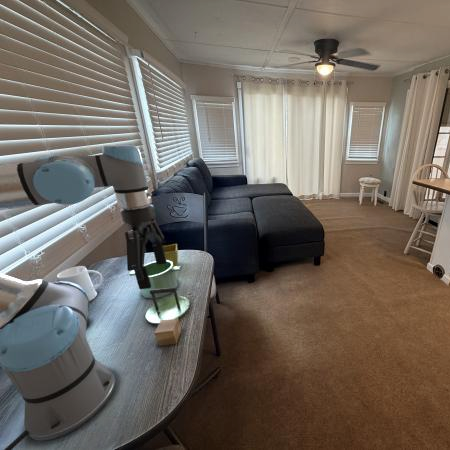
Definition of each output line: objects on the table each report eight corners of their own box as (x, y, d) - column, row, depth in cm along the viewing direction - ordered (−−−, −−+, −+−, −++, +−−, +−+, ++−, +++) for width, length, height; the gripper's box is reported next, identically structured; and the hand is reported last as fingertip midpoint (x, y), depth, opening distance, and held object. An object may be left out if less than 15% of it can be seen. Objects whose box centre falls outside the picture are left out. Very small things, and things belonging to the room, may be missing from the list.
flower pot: (160, 263, 115) (156, 247, 112) (180, 259, 118) (176, 243, 115) (159, 272, 108) (154, 255, 104) (180, 268, 111) (176, 250, 108)
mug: (108, 286, 98) (99, 261, 94) (106, 297, 92) (96, 270, 87) (70, 296, 92) (58, 270, 88) (65, 309, 86) (52, 281, 81)
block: (176, 343, 71) (172, 330, 69) (158, 346, 70) (154, 333, 68) (181, 330, 75) (178, 318, 73) (164, 333, 74) (160, 320, 73)
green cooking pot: (179, 295, 92) (174, 274, 88) (128, 301, 89) (121, 279, 86) (188, 277, 103) (183, 258, 100) (143, 282, 101) (137, 262, 97)
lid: (183, 322, 78) (178, 299, 75) (139, 328, 76) (131, 304, 73) (194, 296, 91) (189, 275, 88) (155, 301, 89) (149, 279, 86)
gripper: (131, 220, 53) (153, 299, 60) (166, 194, 76) (178, 254, 83) (92, 222, 51) (120, 303, 59) (140, 196, 74) (155, 256, 82)
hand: (154, 274), depth 71 cm, fingers open, 13 cm apart
